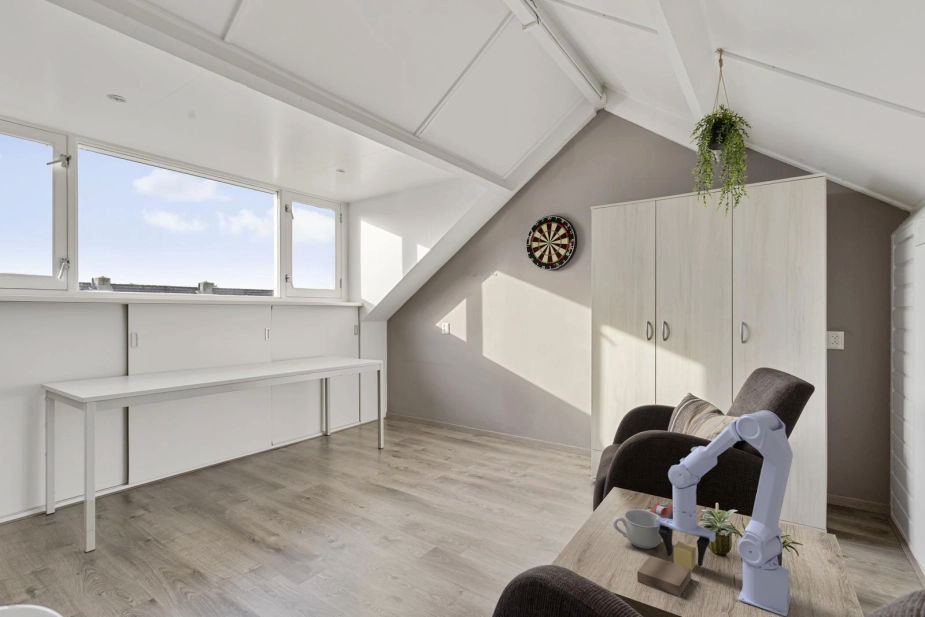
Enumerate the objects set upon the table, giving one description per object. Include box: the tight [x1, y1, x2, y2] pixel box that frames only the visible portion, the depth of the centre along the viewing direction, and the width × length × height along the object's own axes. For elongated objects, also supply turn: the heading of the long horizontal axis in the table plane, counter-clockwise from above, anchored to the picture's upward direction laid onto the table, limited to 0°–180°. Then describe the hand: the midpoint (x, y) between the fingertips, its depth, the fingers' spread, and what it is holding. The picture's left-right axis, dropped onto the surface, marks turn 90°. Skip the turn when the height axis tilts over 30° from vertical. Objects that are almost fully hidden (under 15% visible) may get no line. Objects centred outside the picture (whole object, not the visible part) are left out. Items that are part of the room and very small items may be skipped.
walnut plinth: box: [636, 555, 692, 597], centre depth 119 cm, size 10×10×2 cm
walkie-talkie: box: [645, 502, 673, 519], centre depth 153 cm, size 9×4×20 cm
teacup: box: [612, 508, 663, 550], centre depth 138 cm, size 14×11×8 cm
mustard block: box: [673, 541, 697, 572], centre depth 126 cm, size 4×4×5 cm
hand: (684, 559), depth 126 cm, fingers open, 7 cm apart
